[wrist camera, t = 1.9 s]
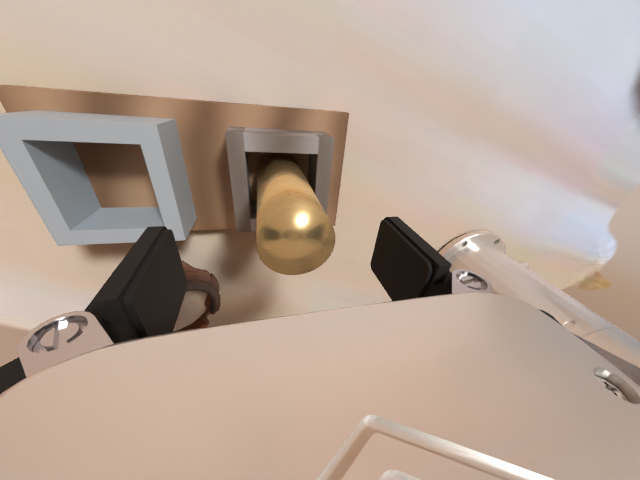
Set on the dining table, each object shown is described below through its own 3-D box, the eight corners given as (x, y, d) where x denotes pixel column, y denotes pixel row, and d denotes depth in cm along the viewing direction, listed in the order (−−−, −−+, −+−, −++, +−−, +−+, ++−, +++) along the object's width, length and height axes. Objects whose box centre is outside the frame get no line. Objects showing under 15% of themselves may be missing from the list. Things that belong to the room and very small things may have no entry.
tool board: (343, 111, 22) (364, 116, 17) (331, 219, 27) (344, 242, 23) (12, 85, 16) (-73, 82, 12) (82, 226, 22) (41, 257, 18)
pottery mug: (127, 227, 23) (148, 272, 19) (214, 246, 31) (245, 280, 26) (80, 327, 25) (88, 393, 20) (174, 321, 32) (197, 368, 27)
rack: (175, 118, 18) (156, 124, 15) (196, 218, 22) (185, 240, 19) (38, 110, 16) (-20, 114, 13) (90, 220, 20) (57, 245, 17)
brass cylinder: (301, 153, 21) (339, 206, 11) (300, 195, 23) (331, 271, 13) (255, 151, 20) (253, 208, 10) (258, 195, 22) (258, 277, 12)
